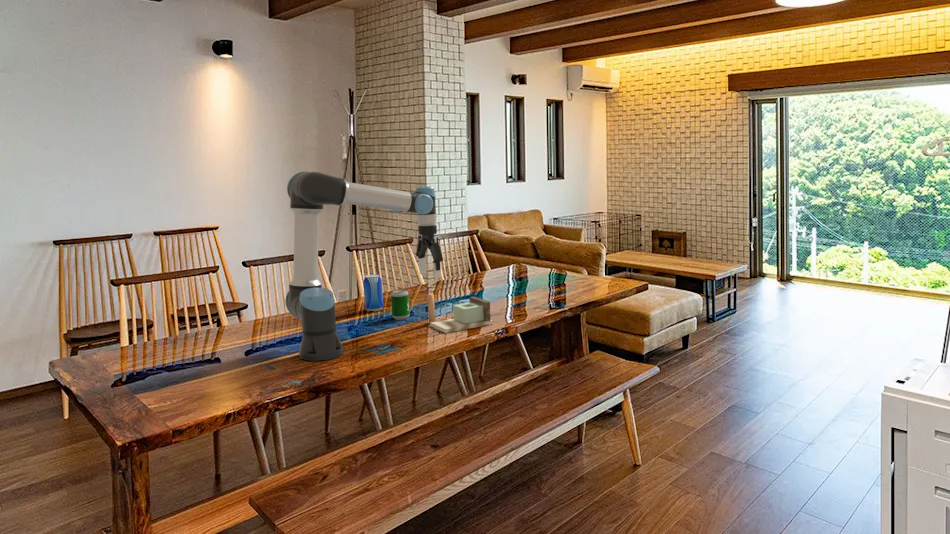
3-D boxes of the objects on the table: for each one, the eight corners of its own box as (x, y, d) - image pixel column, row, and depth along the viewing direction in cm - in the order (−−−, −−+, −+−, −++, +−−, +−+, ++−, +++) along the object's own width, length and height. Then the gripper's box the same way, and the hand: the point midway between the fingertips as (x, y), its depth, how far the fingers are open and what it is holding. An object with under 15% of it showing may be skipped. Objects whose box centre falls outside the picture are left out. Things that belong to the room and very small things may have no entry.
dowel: (430, 324, 265) (429, 295, 263) (427, 322, 267) (426, 294, 265) (436, 323, 266) (434, 294, 264) (433, 321, 268) (432, 293, 266)
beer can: (364, 308, 297) (361, 275, 294) (381, 307, 299) (379, 273, 297) (366, 312, 289) (364, 278, 286) (384, 310, 291) (382, 276, 289)
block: (464, 323, 256) (464, 309, 255) (453, 319, 264) (453, 305, 263) (483, 320, 261) (483, 305, 260) (472, 316, 268) (472, 302, 267)
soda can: (406, 320, 272) (405, 292, 270) (389, 320, 274) (388, 292, 272) (411, 316, 279) (410, 289, 277) (395, 315, 281) (394, 289, 279)
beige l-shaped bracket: (445, 333, 250) (444, 309, 248) (430, 326, 261) (429, 303, 259) (492, 324, 261) (491, 301, 259) (476, 317, 272) (475, 296, 270)
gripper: (449, 225, 251) (452, 278, 254) (422, 221, 272) (425, 270, 276) (432, 227, 247) (435, 281, 251) (406, 223, 268) (409, 272, 272)
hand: (430, 275), depth 263 cm, fingers open, 13 cm apart
